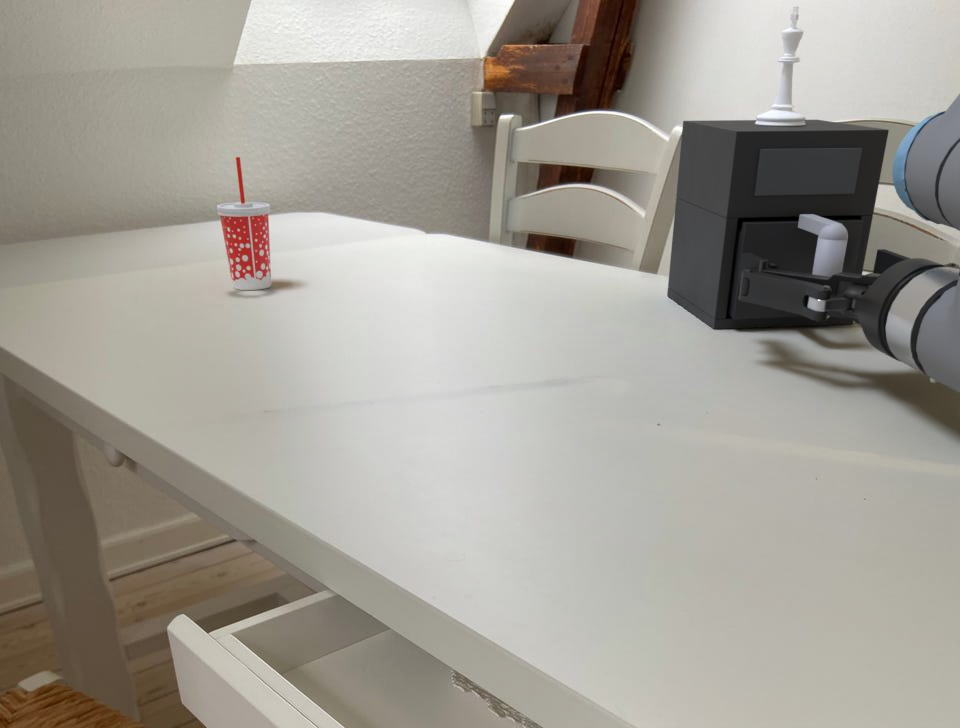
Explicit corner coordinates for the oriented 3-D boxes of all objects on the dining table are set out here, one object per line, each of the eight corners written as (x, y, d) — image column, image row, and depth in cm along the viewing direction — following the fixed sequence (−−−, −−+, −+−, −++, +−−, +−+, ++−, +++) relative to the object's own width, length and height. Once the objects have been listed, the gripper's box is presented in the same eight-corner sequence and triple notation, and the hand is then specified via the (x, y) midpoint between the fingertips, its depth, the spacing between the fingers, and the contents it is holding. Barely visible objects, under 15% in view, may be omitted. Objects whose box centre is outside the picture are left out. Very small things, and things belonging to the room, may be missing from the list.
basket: (882, 333, 95) (904, 223, 90) (762, 338, 94) (777, 226, 89) (785, 284, 115) (799, 192, 110) (684, 287, 114) (694, 194, 109)
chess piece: (808, 124, 101) (826, 7, 96) (801, 126, 97) (818, 5, 92) (759, 122, 103) (774, 8, 98) (750, 125, 99) (765, 6, 94)
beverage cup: (273, 279, 124) (260, 154, 117) (282, 289, 119) (269, 158, 112) (222, 283, 122) (206, 155, 115) (230, 292, 117) (214, 160, 110)
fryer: (854, 325, 103) (890, 129, 94) (714, 330, 101) (737, 131, 92) (790, 292, 117) (817, 119, 108) (666, 296, 115) (683, 120, 106)
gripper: (767, 371, 78) (682, 310, 96) (1061, 359, 81) (924, 302, 99) (782, 270, 74) (690, 226, 92) (1090, 261, 77) (942, 221, 95)
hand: (811, 266), depth 96 cm, fingers open, 13 cm apart
